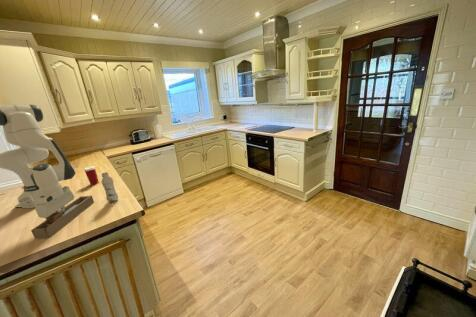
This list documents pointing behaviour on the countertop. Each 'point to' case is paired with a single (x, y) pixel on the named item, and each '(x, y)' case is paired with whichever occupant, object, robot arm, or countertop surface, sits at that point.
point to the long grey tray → (63, 218)
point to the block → (53, 217)
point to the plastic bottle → (109, 187)
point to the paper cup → (91, 175)
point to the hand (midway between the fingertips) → (62, 214)
